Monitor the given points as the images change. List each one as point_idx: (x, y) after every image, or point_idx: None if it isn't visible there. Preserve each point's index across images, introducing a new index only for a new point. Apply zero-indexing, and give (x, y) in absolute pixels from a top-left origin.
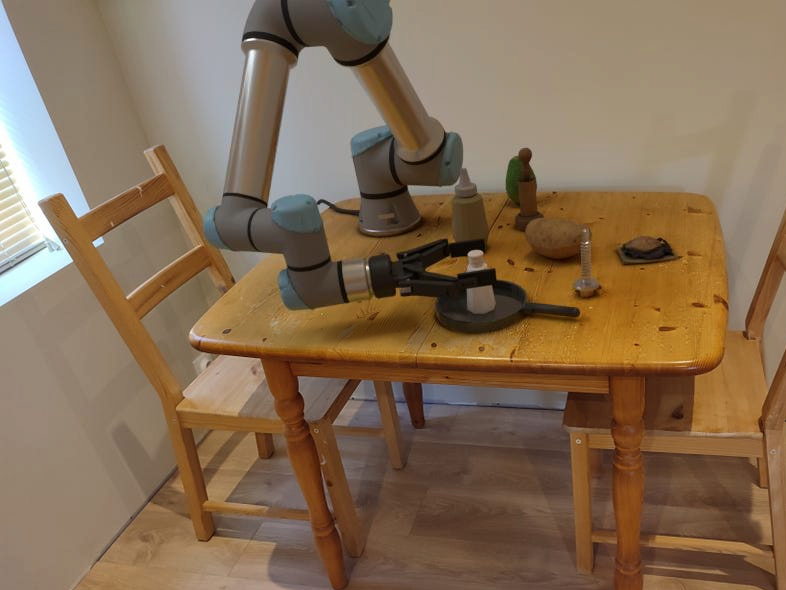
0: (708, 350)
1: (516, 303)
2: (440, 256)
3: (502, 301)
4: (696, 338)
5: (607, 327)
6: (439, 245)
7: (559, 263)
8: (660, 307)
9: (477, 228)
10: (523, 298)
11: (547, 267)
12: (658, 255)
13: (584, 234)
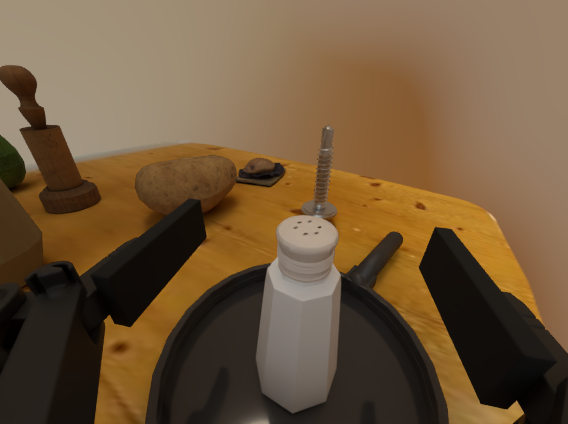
0: (464, 201)
1: None
2: (89, 367)
3: None
4: (440, 200)
5: (414, 233)
6: (35, 322)
7: (215, 215)
8: (373, 197)
9: (13, 224)
10: None
11: (212, 225)
12: (283, 169)
13: (332, 134)
